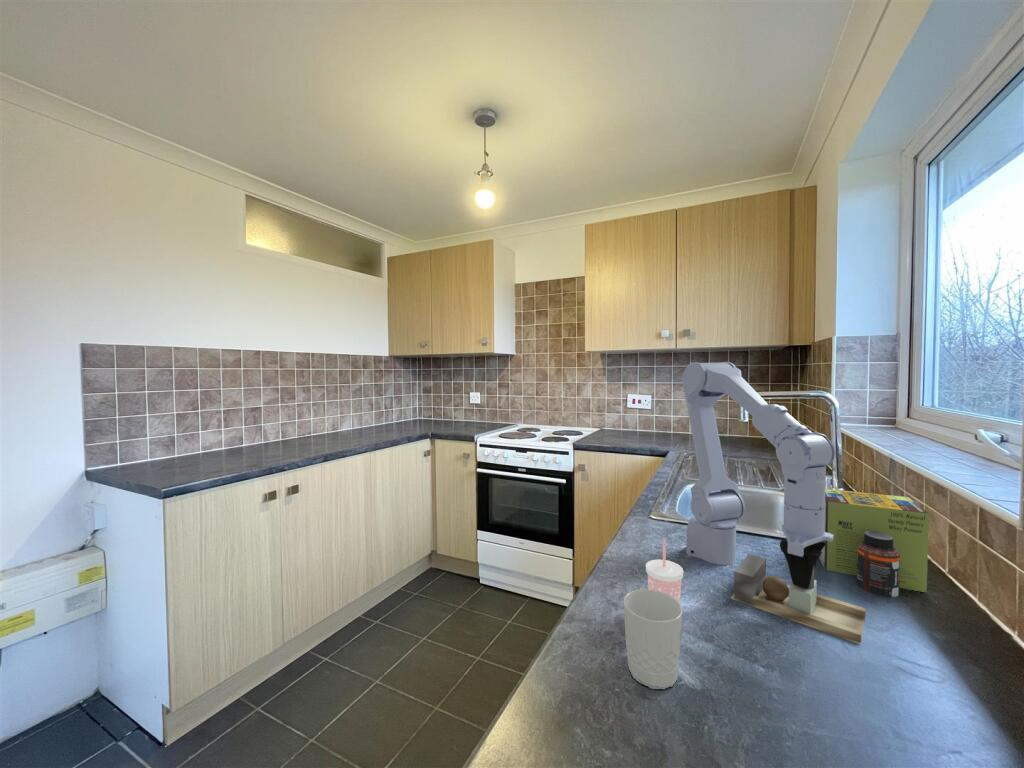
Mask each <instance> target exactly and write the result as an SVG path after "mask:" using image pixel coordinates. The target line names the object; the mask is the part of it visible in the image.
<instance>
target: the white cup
mask: <svg viewBox="0 0 1024 768" xmlns="http://www.w3.org/2000/svg"><path fill="white" fill-rule="evenodd" d="M623 613H624V614H623V616H624V617H623V618H624V635H625V648H626V652H627V653H626V654H627V667H628V666H629V668H630V670H631V672H632V673H633V674H634V675H635V676H636V677H637V678H639V679H640V680H641V681H643V682H646V683H647V684H649V685H652V686H659V687H667V686H669V685H673V684H674V683H675V682H676V680H677V681H679V680H678V679H679V678H678V677H679V661H680V657H681V656H680V655H681V644H682V643H681V642H682V626H683V607H682V605H681V602H680V603H679V602H678V601H677V600H676V599H674V598H673V597H671V596H670V595H668V594H665V593H663V592H660V591H656V590H650V589H649V588H643V589H639V588H638V589H635V590H632V591H629V592H627V594H625V595H624V597H623ZM676 683H677V682H676ZM676 683H675V684H676Z"/></svg>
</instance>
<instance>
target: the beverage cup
mask: <svg viewBox="0 0 1024 768" xmlns="http://www.w3.org/2000/svg"><path fill="white" fill-rule="evenodd" d="M666 546H667V541H666V538H662V559H660V558H659V559H652V560H649V561H647V562H646V563H645V572H646V574H647V583H648V584H647V587H648V588H647V589H650V590H656V591H660V592H663V593H665V594H668V595H670V596H671V597H673V598H674V599H676V600H677V601H678V602H679V603H680V604H681V594H682V579H683V578H684V569H683V567H682V566H681V565H679V564H678V563H676V562H674V561H671V560H667V559H666V557H667V555H666V554H667V553H666V551H667V547H666Z"/></svg>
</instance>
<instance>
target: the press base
mask: <svg viewBox="0 0 1024 768" xmlns="http://www.w3.org/2000/svg"><path fill="white" fill-rule="evenodd" d="M745 556H746V557H745V558H744V559H743V560H742V561H741V563H739V564H738V566H737V567H736V568H735V569H734V572H733V594H732V595H731V596H730V599H731V600H734V601H737V602H739V603H743V604H745V605H748V606H751V607H754V608H757V609H759V610H762V611H764V612H768V613H771V614H773V615H776V616H778V617H780V618H781V617H782V618H785V619H788V620H790V621H793V622H796V623H799V624H801V625H804V626H806V627H810V628H813V629H816V630H819V631H821V632H823V633H827V634H829V635H832V636H836V637H838V638H841V639H844V640H846V641H849V642H852V643H854V644H858V645H861V643H862V637H863V632H864V625H865V619H866V615H867V614H866V610H867V609H866V608H865V607H862V606H858V605H856V604H852V603H849V602H845V601H842V600H839V599H836V598H834V597H833V598H832V597H829V596H826V595H822V594H819V593H817V596H816V605H815V608H814V610H813V613H812V615H811V614H808V613H805V612H802V611H799V610H796V609H794V608H791V607H789V594H788V597H787V598H786V599H785V600H784V601H783V603H782V604H779V603H776V602H773V601H770V600H767V599H766V594H765V592H764V590H763V586H762V585H763V581H764V580H765V579H766V578H767V558H766V557H761V556H759V555H754V554H751V553H748V554H747V555H745ZM790 585H791V584H790ZM790 585H789V584H787V586H788V588H789V587H790Z"/></svg>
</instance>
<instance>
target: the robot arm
mask: <svg viewBox="0 0 1024 768" xmlns="http://www.w3.org/2000/svg"><path fill="white" fill-rule="evenodd" d="M681 379H682V386H683V392H684V397H685V401H686V407H687V413H688V414H687V415H688V418H689V424H690V430H691V436H692V440H693V441H692V442H693V446H694V453H695V458H696V464H697V469H698V474H699V475H698V476H699V479H698V480H697V481H696V482H695V483H694V484H693V485H692V487H690V494H691V499H690V511H691V513H692V515H693V516H691V517H690V518H689V520H688V522H687V528H686V555H688V556H692V557H693V558H694V557H695V558H698V559H701V560H704V561H705V562H707V563H710V564H714V565H717V566H718V565H719V566H731V565H733V564H735V563H736V561H737V560H736V559H737V557H736V555H737V552H736V550H737V525H739V523H740V519H742V518H744V516H745V513H746V505H745V501H744V499H743V497H742V495H741V494H740V491H739V486H738V484H737V483H736V482H735V481H734V480H733V481H732V479H730V478H729V477H728V476H727V471H726V466H725V462H724V461H725V460H724V456H723V450H722V445H721V440H720V435H719V430H718V424H717V420H716V419H717V418H716V414H715V409H714V406H715V405H716V404H717V402H718V401H719V400H720V399H722V398H724V396H726V395H727V396H728V397H729V398H730V399H732V401H734V402H735V403H736V404H738V405H739V406H740V407H742V409H744V410H745V411H746V412H747V413H748V414H750V415H751V416H752V418H751V424H752V426H753V428H755V429H756V430H757V431H758V432H759V433H760V434H761V435H762V436H763V437H764V438H765V439H766V440H767V441H768V442H770V444H771V445H773V447H774V448H775V455H776V458H777V460H778V461H779V463H780V465H781V474H782V476H783V478H784V479H783V481H784V482H783V484H784V486H783V487H784V488H783V490H784V491H783V496H784V497H783V524H782V526H781V529H782V532H783V534H784V537H785V539H786V540H783V539H782V540H781V541H780V543H779V548H780V550H781V552H782V554H783V555H784V557H785V559H786V562H787V564H788V565H787V566H788V568H789V569H788V570H789V574H790V579H791V581H792V582H793V585H796V586H799V587H803V588H806V589H808V587H809V585H810V582H811V577H812V572H813V568H814V573H815V571H816V567H817V563H818V559H819V557H820V556H821V554H822V552H821V550H822V549H823V547H824V546H825V545H826V541H833V537H834V535H833V534H830V533H826V532H825V489H826V481H827V480H826V477H827V476H826V475H827V466H830V465H831V464H833V462H834V460H835V457H836V449H835V446H834V445H833V442H831V440H830V439H829V438H828V436H827V435H825V434H823V433H821V432H812V431H811V430H810V429H808V427H807V426H805V425H804V424H801V423H800V422H799V421H798V420H797V419H795V418H794V416H792V415H790V413H789V412H788V411H789V410H788V408H786V406H785V405H779V404H776V403H770V404H769V403H767V402H766V400H765V399H764V398H762V396H761V395H760V394H758V392H757V391H756V390H755V389H754V388H753V387H752V386H751V384H749V383H748V382H747V381H746V379H744V378H743V377H742V370H741V369H739V368H738V367H736V365H735V364H734V363H732V362H730V361H722V362H697V361H695V362H694V361H693V362H690V363H689V364H687V366H686V367H685V370H684V372H683V374H682V375H681ZM692 551H693V552H692ZM792 582H791V583H792Z"/></svg>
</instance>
